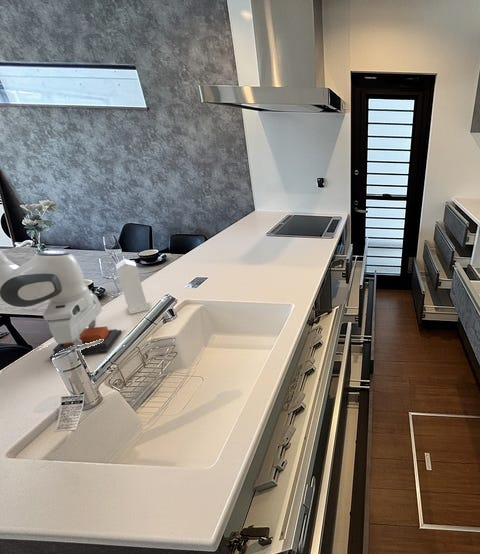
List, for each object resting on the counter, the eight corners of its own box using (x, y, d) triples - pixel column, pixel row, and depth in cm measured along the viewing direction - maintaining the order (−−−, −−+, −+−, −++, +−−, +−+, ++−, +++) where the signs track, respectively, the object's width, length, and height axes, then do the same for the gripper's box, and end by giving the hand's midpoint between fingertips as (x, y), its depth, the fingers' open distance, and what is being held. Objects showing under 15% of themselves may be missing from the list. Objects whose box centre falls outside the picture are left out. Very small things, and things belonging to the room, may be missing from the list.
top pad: (65, 349, 95) (60, 338, 94) (73, 340, 100) (69, 330, 98) (103, 344, 98) (100, 334, 97) (110, 336, 103) (106, 326, 101)
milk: (130, 314, 118) (113, 261, 109) (128, 308, 122) (112, 256, 113) (148, 309, 121) (134, 258, 112) (147, 303, 126) (132, 253, 117)
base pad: (50, 360, 92) (47, 353, 91) (72, 337, 102) (69, 331, 102) (106, 352, 96) (104, 346, 95) (121, 332, 107) (119, 326, 106)
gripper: (77, 287, 101) (90, 322, 107) (38, 318, 83) (57, 359, 89) (100, 285, 103) (112, 320, 109) (67, 316, 85) (83, 355, 91)
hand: (87, 338), depth 99 cm, fingers open, 7 cm apart
